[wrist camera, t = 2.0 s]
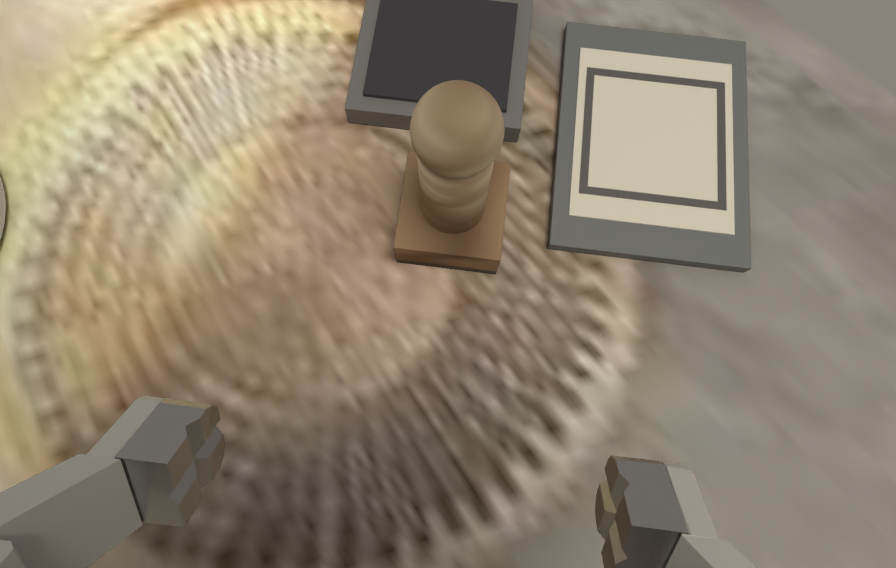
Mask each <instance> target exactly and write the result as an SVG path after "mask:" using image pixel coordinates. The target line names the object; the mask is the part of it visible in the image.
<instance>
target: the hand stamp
mask: <svg viewBox="0 0 896 568" xmlns="http://www.w3.org/2000/svg"><path fill="white" fill-rule="evenodd" d="M504 131H505V126H504V118H503V115H502V112H501V109H500V107H499V105H498V103H497V102H496V100H495V99H494V98H493V96H492V95H491V94H490V93H489V92H488V91H487V90H485V89H484V88H483V87H481V86H479V85H477V84H475V83H472V82H469V81H464V80H451V81H446V82H443V83H440V84H438V85H436V86H434V87H432V88H431V89H430V90H428V91H427V92H426V93H425V94H424V95H423V96H422V97H421V99H420V100H419V101H418V103H417V105H416V107H415V108H414V111H413V114H412V118H411V122H410V137H411V142H412V145H413V148H414V151H415V152H414V151H408V157H407V164H406V170H405V176H404V183H403V189H402V195H401V202H400V208H399V214H398V221H397V227H396V233H395V240H394V246H393V249H394V252H395V256H396V259H397V262H400V263H408V264H416V265H424V266H433V267H441V268H449V269H457V270H465V271H474V272H482V273H490V274H496V271H497V269H498V266H499V263H500V261H501V251H502V241H503V231H504V221H505V212H506V202H507V192H508V182H509V173H510V163H507V162H499V161H494V160H495V158H496V157H497V155H498V153H499V151H500V149H501V146H502V143H503V139H504Z"/></svg>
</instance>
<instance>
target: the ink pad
mask: <svg viewBox="0 0 896 568" xmlns="http://www.w3.org/2000/svg"><path fill="white" fill-rule="evenodd" d="M532 9H533V0H366V4H365V9H364V14H363V19H362V24H361V29H360V34H359V39H358V44H357V50H356V55H355V60H354V65H353V70H352V75H351V80H350V85H349V90H348V95H347V100H346V105H345V111H346V114H347V117H348V120H349V123H356V124H364V125H373V126H382V127H390V128H399V129H407V130H410V122H411V118H412V114H413V111H414V108H415V107H416V105H417V103H418V101H419V100H420V99H421V97H422V96H423V95H424V94H425V93H426V92H427V91H428V90H430V89H431V88H432V87H434V86H436V85H438V84H440V83H443V82H446V81H451V80H464V81H469V82H472V83H475V84H477V85H479V86H481V87H483V88H484V89H485V90H487V91H488V92H489V93H490V94H491V95H492V96H493V98H494V99H495V100H496V102H497V103H498V105H499V107H500V109H501V112H502V115H503V118H504V126H505V131H504V139H503V141H510V142H517V140H518V137H519V133H520V129H521V120H522V110H523V100H524V90H525V80H526V70H527V59H528V49H529V39H530V29H531V19H532Z"/></svg>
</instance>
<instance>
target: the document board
mask: <svg viewBox="0 0 896 568" xmlns="http://www.w3.org/2000/svg"><path fill="white" fill-rule="evenodd" d="M547 249H554V250H562V251H570V252H579V253H587V254H595V255H604V256H612V257H620V258H628V259H637V260H645V261H653V262H662V263H670V264H678V265H687V266H695V267H703V268H711V269H720V270H728V271H736V272H745V271H748V270H750V269H751V239H750V200H749V160H748V121H747V81H746V42H744V41H735V40H726V39H717V38H708V37H699V36H690V35H681V34H672V33H663V32H654V31H646V30H637V29H628V28H619V27H610V26H601V25H592V24H583V23H574V22H567V24H566V28H565V32H564V45H563V57H562V70H561V83H560V95H559V108H558V120H557V133H556V146H555V158H554V171H553V184H552V196H551V209H550V222H549V234H548V247H547Z"/></svg>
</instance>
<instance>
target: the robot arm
mask: <svg viewBox="0 0 896 568" xmlns="http://www.w3.org/2000/svg"><path fill="white" fill-rule="evenodd" d="M5 214H6V200H5V192H4V187H3V183H2V180H1V177H0V239H1V236H2V232H3V228H4V222H5ZM219 420H220V415H219V411H218V407H216V406H213V405H208V404H201V403H195V402H188V401H182V400H175V399H169V398H167V399H166V398H160V397H153V396H146V395H144V396H142V397H140V398H138V399H136V400H135V401H134V402H133V403H132V404H131V405H130V406H129V408H128V409H127V410H126V411H125V412H124V413H123V414H122V415H121V416H120V418H119V419H118V420H117V421H116V422H115V423H114V424H113V425H112V426H111V428H110V429H109V430H108V431H107V432H106V433H105V434H104V435H103V436H102V438H101V439H100V440H99V441H98V442H97V443H96V444H95V445H94V447H93V448H92V449H91V450H90V451H89V452H88V453H87V454H86V455H85V454H78V455H76V456H74V457H72V458H70V459H68V460H66V461H63V462H61V463H59V464H57V465H55V466H53V467H51V468H49V469H47V470H45V471H43V472H41V473H39V474H37V475H35V476H33V477H31V478H29V479H27V480H25V481H23V482H21V483H19V484H17V485H15V486H13V487H11V488H9V489H7V490H5V491H3V492H1V493H0V568H87V567H88V566H90V565H91V564H92V563H94V562H95V561H96V560H98V559H99V558H100V557H102V556H103V555H104V554H106V553H107V552H108V551H109V550H111V549H112V548H113V547H115V546H116V545H117V544H119V543H120V542H121V541H123V540H124V539H125V538H127V537H128V536H129V535H130V534H132V533H133V532H134V531H136V530H137V529H138V528H140V527H141V526H142V525H143V524H142V523H150V524H160V525H169V526H178V527H185V526H186V525H187V523H188V521H189V520H190V518H191V516H192V515H193V513H194V511H195V510H196V508H197V506H198V505H199V503H200V501H201V500H202V494H201V489H200V488H201V487H203V486H204V485H206V484H207V483H209V482H210V481H212V480H213V479H214V477H215V476H216V474H217V472H218V470H219V468H220V466H221V463H222V459H223V456H224V449H225V441H224V435H223V434H222V433H221V431H220V430H219V429H218V428H217V427H216V425H217V423H218V422H219ZM605 472H606V477H607V479H605V480H604V481H602V482H601V483H600V484H599V487H598V491H597V494H596V504H595V515H596V524H597V530H598V532H599V533H600V534H601V536H602V537H603V538H604V539H605V540H606V541H605V543H604V546H603V549H602V552H601V553H602V559H603V564H604V568H756V567H755V566H754V565H753V564H752V563H751V562H750V561H749V560H748V559H747V558H746V557H745V556H744V555H743V554H742V553H741V552H740V551H738V550H737V549H736V548H735V547H734V546H733V545H732V544H731V543H730V542H729V541H728V540H725V539H719V536H718V534H717V531H716V529H715V526H714V524H713V521H712V519H711V516H710V514H709V511H708V509H707V506H706V504H705V501H704V499H703V496H702V494H701V491H700V489H699V486H698V484H697V481H696V479H695V476H694V474H693V471H692V469H691V468H690V467H689V466H688V465H687V464H678V463H670V462H660V461H654V460H646V459H637V458H628V457H620V456H611V457H610V458H609V459H608V461H607V463H606V466H605Z"/></svg>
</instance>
